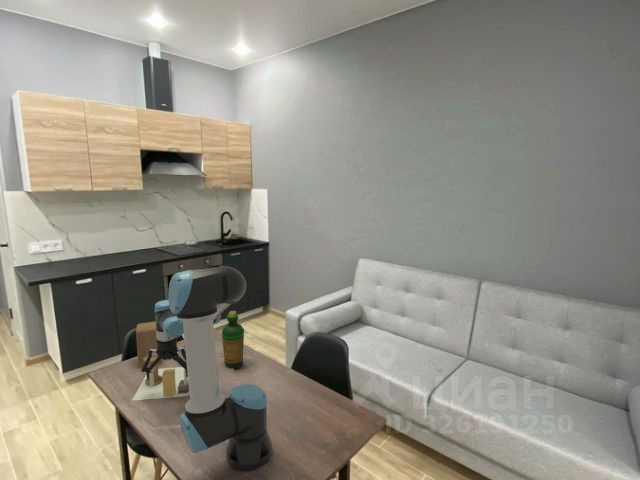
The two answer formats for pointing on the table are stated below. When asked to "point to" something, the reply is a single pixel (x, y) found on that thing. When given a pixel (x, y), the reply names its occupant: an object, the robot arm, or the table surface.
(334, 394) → the table surface
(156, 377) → the bobbin
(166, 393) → the yellow rectangular block
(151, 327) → the wooden block
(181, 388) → the notch board
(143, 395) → the board
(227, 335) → the bottle
